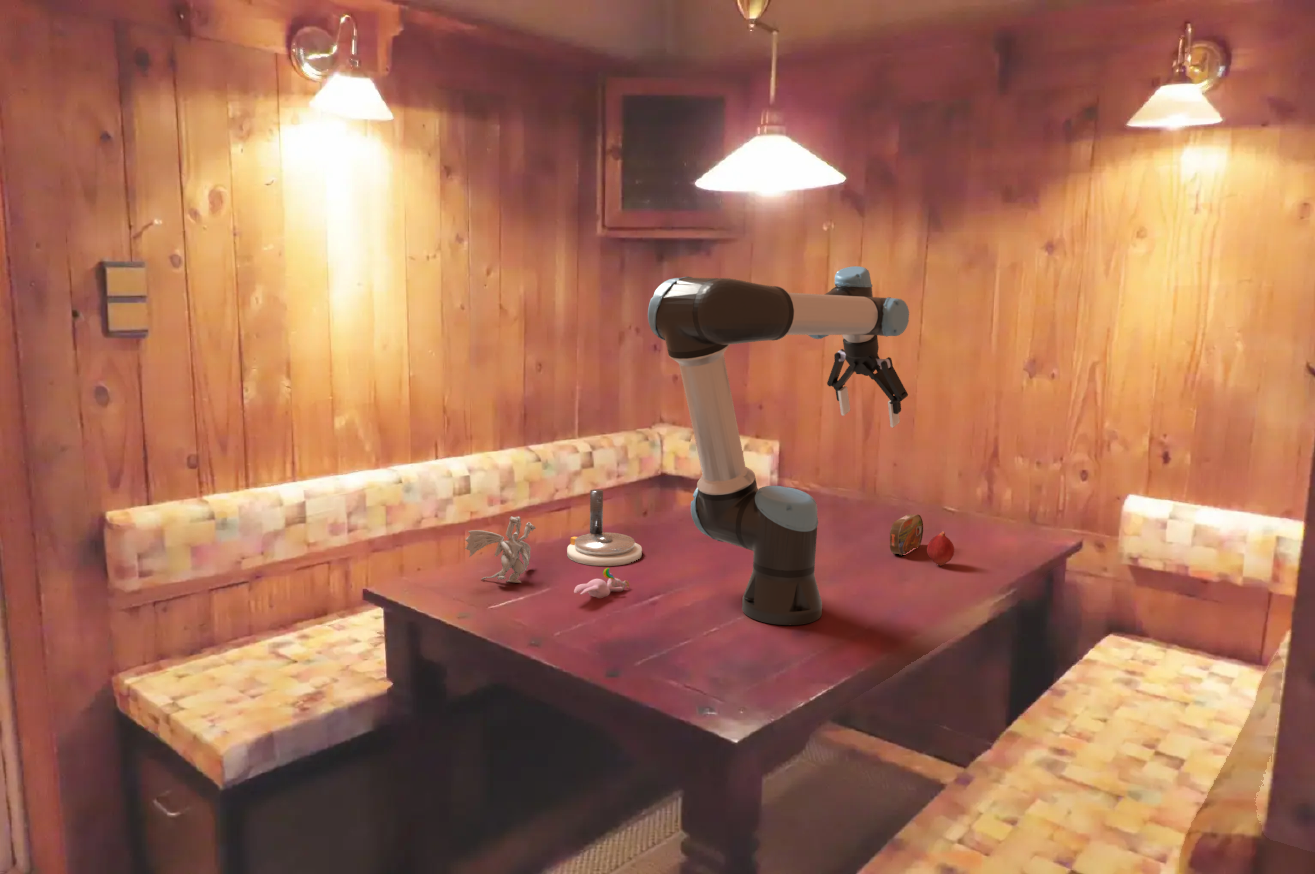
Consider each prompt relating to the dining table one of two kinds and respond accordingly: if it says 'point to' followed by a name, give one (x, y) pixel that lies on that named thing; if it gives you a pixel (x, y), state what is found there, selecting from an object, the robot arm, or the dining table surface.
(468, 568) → the dining table surface
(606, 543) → the dial
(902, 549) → the tin
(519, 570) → the grey dragon figurine
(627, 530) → the dining table surface
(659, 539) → the dining table surface
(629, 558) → the dial base
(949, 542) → the onion
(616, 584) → the rabbit figure
